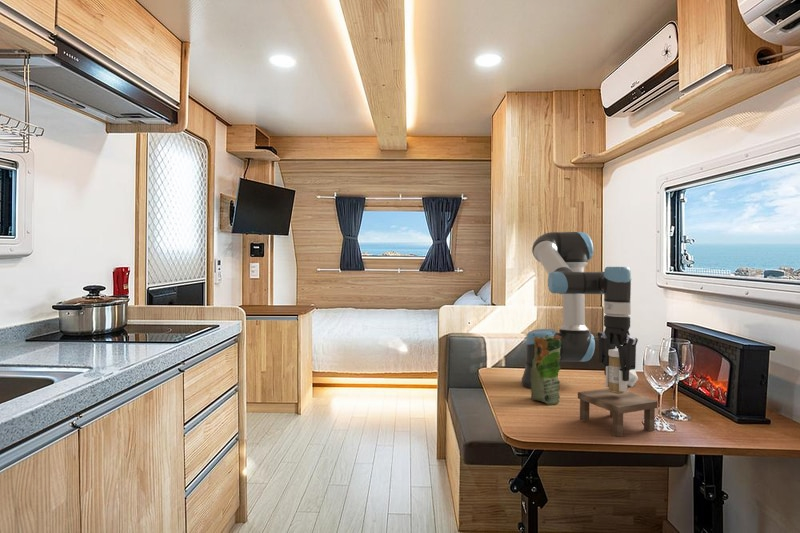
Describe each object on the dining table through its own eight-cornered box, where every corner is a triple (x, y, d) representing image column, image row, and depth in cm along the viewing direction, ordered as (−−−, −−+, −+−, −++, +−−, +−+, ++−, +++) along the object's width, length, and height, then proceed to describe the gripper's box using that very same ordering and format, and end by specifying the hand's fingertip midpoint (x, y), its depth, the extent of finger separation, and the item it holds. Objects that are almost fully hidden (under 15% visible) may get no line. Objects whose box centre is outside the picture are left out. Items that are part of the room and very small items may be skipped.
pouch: (561, 398, 165) (561, 332, 165) (562, 408, 153) (563, 337, 153) (530, 395, 168) (531, 331, 168) (530, 404, 157) (530, 335, 157)
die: (626, 390, 178) (641, 372, 177) (607, 376, 184) (622, 358, 183) (630, 393, 184) (644, 375, 183) (612, 379, 190) (626, 362, 189)
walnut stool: (577, 419, 142) (577, 392, 142) (614, 413, 148) (614, 387, 148) (618, 437, 127) (618, 407, 127) (657, 430, 133) (657, 401, 133)
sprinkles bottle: (624, 391, 138) (625, 349, 138) (623, 395, 134) (623, 352, 134) (609, 389, 140) (609, 347, 140) (607, 392, 137) (607, 350, 137)
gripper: (586, 312, 144) (586, 382, 144) (631, 319, 128) (631, 397, 128) (604, 311, 147) (603, 380, 147) (650, 318, 130) (649, 395, 131)
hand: (616, 388), depth 137 cm, fingers closed on sprinkles bottle, 4 cm apart
